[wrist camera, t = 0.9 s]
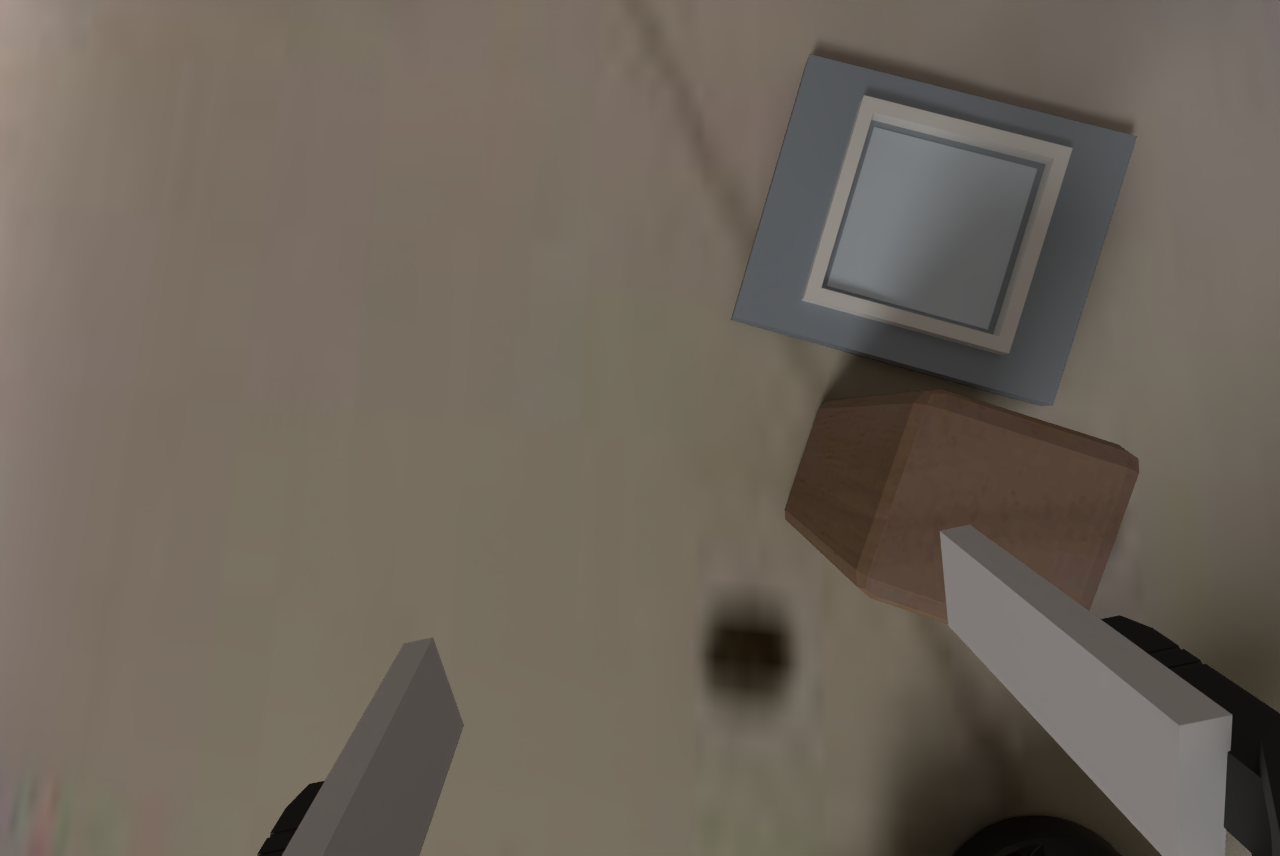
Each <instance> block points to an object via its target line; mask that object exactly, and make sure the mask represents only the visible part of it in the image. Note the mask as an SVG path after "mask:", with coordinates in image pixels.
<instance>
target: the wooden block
mask: <svg viewBox="0 0 1280 856" xmlns="http://www.w3.org/2000/svg"><path fill="white" fill-rule="evenodd" d="M1138 474H1139V462H1138V458H1136V457H1135V456H1134V455H1132V454H1131V453H1129V452H1128V451H1126V450H1125V449H1124V448H1122V447H1121V446H1120V445H1118V444H1115V443H1112V442H1108V441H1105V440H1102V439H1099V438H1096V437H1093V436H1089V435H1086V434H1083V433H1080V432H1077V431H1074V430H1071V429H1067V428H1064V427H1061V426H1058V425H1055V424H1052V423H1048V422H1045V421H1042V420H1039V419H1036V418H1033V417H1029V416H1026V415H1023V414H1020V413H1017V412H1014V411H1010V410H1007V409H1004V408H1001V407H998V406H995V405H992V404H988V403H985V402H982V401H979V400H976V399H973V398H969V397H966V396H963V395H960V394H957V393H954V392H950V391H947V390H944V389H935V390H923V391H914V392H904V393H895V394H886V395H877V396H867V397H858V398H849V399H840V400H830V401H825V402H824V403H823V405H822V406H821V407H820V408H819V410H818V413H817V416H816V418H815V421H814V424H813V427H812V430H811V433H810V436H809V439H808V442H807V445H806V448H805V451H804V454H803V457H802V460H801V463H800V466H799V469H798V472H797V475H796V478H795V481H794V484H793V487H792V489H791V492H790V495H789V498H788V501H787V504H786V507H785V519H786V520H787V521H788V522H789V523H790V524H791V525H792V526H793V527H794V528H795V529H796V530H797V531H799V532H800V533H801V534H802V535H803V536H804V537H805V538H806V539H807V540H808V541H809V542H810V543H811V544H812V545H813V546H814V547H816V548H817V549H818V550H819V551H820V552H821V553H822V554H823V555H824V556H825V557H826V558H827V559H828V560H829V561H830V562H832V563H833V564H834V565H835V566H836V567H837V568H838V569H839V570H840V571H841V572H842V573H843V574H844V575H845V576H846V577H847V578H849V579H850V580H851V581H852V582H853V583H854V584H855V585H856V586H857V587H858V588H859V589H861V590H862V591H863V592H864V593H865V594H866V595H868V596H869V597H870V598H872V599H875V600H878V601H881V602H884V603H887V604H890V605H893V606H896V607H899V608H902V609H905V610H908V611H911V612H914V613H917V614H920V615H923V616H926V617H929V618H932V619H934V620H937V621H940V622H943V623H946V624H948V617H947V606H946V595H945V584H944V573H943V562H942V551H941V540H940V531H942V530H947V529H951V528H956V527H961V526H966V525H971V526H972V527H974V528H975V529H977V530H978V531H979V532H981V533H982V534H984V535H985V536H986V537H988V538H989V539H990V540H992V541H993V542H995V543H996V544H997V545H999V546H1000V547H1001V548H1003V549H1004V550H1006V551H1007V552H1008V553H1010V554H1011V555H1012V556H1014V557H1015V558H1017V559H1018V560H1019V561H1021V562H1022V563H1024V564H1025V565H1026V566H1028V567H1029V568H1030V569H1032V570H1033V571H1035V572H1036V573H1037V574H1039V575H1040V576H1041V577H1043V578H1044V579H1046V580H1047V581H1048V582H1050V583H1051V584H1053V585H1054V586H1055V587H1057V588H1058V589H1059V590H1061V591H1062V592H1064V593H1065V594H1066V595H1068V596H1069V597H1070V598H1072V599H1073V600H1075V601H1076V602H1077V603H1079V604H1080V605H1081V606H1083V607H1084V608H1086V609H1087V610H1088V611H1089V610H1090V608H1091V605H1092V602H1093V599H1094V596H1095V594H1096V591H1097V588H1098V585H1099V583H1100V580H1101V577H1102V574H1103V571H1104V569H1105V566H1106V563H1107V560H1108V558H1109V555H1110V552H1111V549H1112V546H1113V544H1114V541H1115V538H1116V535H1117V533H1118V530H1119V527H1120V524H1121V521H1122V519H1123V516H1124V513H1125V510H1126V508H1127V505H1128V502H1129V499H1130V496H1131V494H1132V491H1133V488H1134V485H1135V483H1136V480H1137V477H1138Z"/></svg>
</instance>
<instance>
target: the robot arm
mask: <svg viewBox="0 0 1280 856" xmlns="http://www.w3.org/2000/svg"><path fill="white" fill-rule="evenodd" d="M940 540H941V551H942V562H943V573H944V584H945V595H946V606H947V617H948V626H949V627H950V628H951V629H952V630H953V631H954V632H955V633H956V634H957V635H958V636H959V637H960V638H961V640H962V641H963V642H964V643H965V644H966V645H967V646H968V647H969V648H970V649H971V650H972V651H973V652H974V654H975V655H976V656H977V657H978V658H979V659H980V660H981V661H982V662H983V663H984V664H985V665H986V666H987V668H988V669H989V670H990V671H991V672H992V673H993V674H994V675H995V676H996V677H997V678H998V679H999V681H1000V682H1001V683H1002V684H1003V685H1004V686H1005V687H1006V688H1007V689H1008V690H1009V691H1010V692H1011V693H1012V695H1013V696H1014V697H1015V698H1016V699H1017V700H1018V701H1019V702H1020V703H1021V704H1022V705H1023V706H1024V707H1025V709H1026V710H1027V711H1028V712H1029V713H1030V714H1031V715H1032V716H1033V717H1034V718H1035V719H1036V720H1037V721H1038V723H1039V724H1040V725H1041V726H1042V727H1043V728H1044V729H1045V730H1046V731H1047V732H1048V733H1049V734H1050V735H1051V737H1052V738H1053V739H1054V740H1055V741H1056V742H1057V743H1058V744H1059V745H1060V746H1061V747H1062V748H1063V750H1064V751H1065V752H1066V753H1067V754H1068V755H1069V756H1070V757H1071V758H1072V759H1073V760H1074V761H1075V762H1076V764H1077V765H1078V766H1079V767H1080V768H1081V769H1082V770H1083V771H1084V772H1085V773H1086V774H1087V775H1088V776H1089V778H1090V779H1091V780H1092V781H1093V782H1094V783H1095V784H1096V785H1097V786H1098V787H1099V788H1100V789H1101V790H1102V792H1103V793H1104V794H1105V795H1106V796H1107V797H1108V798H1109V799H1110V800H1111V801H1112V802H1113V803H1114V805H1115V806H1116V807H1117V808H1118V809H1119V810H1120V811H1121V812H1122V813H1123V814H1124V815H1125V816H1126V817H1127V819H1128V820H1129V821H1130V822H1131V823H1132V824H1133V825H1134V826H1135V827H1136V828H1137V829H1138V830H1139V831H1140V833H1141V834H1142V835H1143V836H1144V837H1145V838H1146V839H1147V840H1148V841H1149V842H1150V843H1151V844H1152V845H1153V847H1154V848H1155V849H1156V850H1157V851H1158V852H1159V853H1160V854H1161V855H1162V856H1225V845H1226V830H1227V831H1228V832H1229V833H1230V834H1232V835H1233V836H1234V837H1235V838H1236V839H1237V840H1238V841H1239V842H1240V843H1241V844H1242V845H1244V846H1245V847H1246V848H1247V849H1248V850H1249V851H1250V852H1251V853H1252V856H1280V713H1278V712H1277V711H1275V710H1274V709H1272V708H1271V707H1269V706H1268V705H1266V704H1265V703H1263V702H1262V701H1260V700H1259V699H1257V698H1256V697H1254V696H1253V695H1251V694H1250V693H1248V692H1247V691H1245V690H1244V689H1242V688H1241V687H1239V686H1238V685H1236V684H1235V683H1233V682H1232V681H1230V680H1229V679H1227V678H1226V677H1225V676H1223V675H1222V674H1220V673H1219V672H1217V671H1216V670H1214V669H1213V668H1211V667H1210V666H1208V665H1207V664H1204V665H1203V664H1202V663H1201V661H1200V660H1199V659H1198V658H1196V657H1195V656H1193V655H1192V654H1190V653H1189V652H1187V651H1186V650H1184V649H1183V650H1181V649H1180V648H1179V646H1178V645H1177V644H1175V643H1174V642H1172V641H1171V640H1169V639H1168V638H1166V637H1165V636H1163V635H1162V634H1160V633H1159V632H1157V631H1156V630H1154V629H1153V628H1151V627H1148V626H1146V625H1143V624H1140V623H1138V622H1135V621H1133V620H1130V619H1128V618H1125V617H1123V616H1115V617H1110V618H1105V619H1099V618H1098V617H1097V616H1095V615H1094V614H1093V613H1091V612H1090V611H1088V610H1087V609H1086V608H1084V607H1083V606H1081V605H1080V604H1079V603H1077V602H1076V601H1075V600H1073V599H1072V598H1070V597H1069V596H1068V595H1066V594H1065V593H1064V592H1062V591H1061V590H1059V589H1058V588H1057V587H1055V586H1054V585H1053V584H1051V583H1050V582H1048V581H1047V580H1046V579H1044V578H1043V577H1041V576H1040V575H1039V574H1037V573H1036V572H1035V571H1033V570H1032V569H1030V568H1029V567H1028V566H1026V565H1025V564H1024V563H1022V562H1021V561H1019V560H1018V559H1017V558H1015V557H1014V556H1012V555H1011V554H1010V553H1008V552H1007V551H1006V550H1004V549H1003V548H1001V547H1000V546H999V545H997V544H996V543H995V542H993V541H992V540H990V539H989V538H988V537H986V536H985V535H984V534H982V533H981V532H979V531H978V530H977V529H975V528H974V527H972V526H971V525H966V526H961V527H956V528H951V529H947V530H942V531H940ZM463 726H464V725H463V722H462V719H461V716H460V713H459V710H458V707H457V705H456V702H455V699H454V696H453V693H452V690H451V687H450V685H449V682H448V679H447V676H446V673H445V670H444V667H443V665H442V662H441V659H440V656H439V653H438V650H437V647H436V645H435V642H434V639H433V638H428V639H424V640H419V641H414V642H409V643H405V644H404V645H403V646H402V648H401V650H400V652H399V653H398V655H397V657H396V658H395V660H394V662H393V664H392V665H391V667H390V669H389V671H388V672H387V674H386V676H385V678H384V679H383V681H382V683H381V684H380V686H379V688H378V690H377V691H376V693H375V695H374V697H373V698H372V700H371V702H370V704H369V705H368V707H367V709H366V710H365V712H364V714H363V716H362V717H361V719H360V721H359V723H358V724H357V726H356V728H355V730H354V731H353V733H352V735H351V736H350V738H349V740H348V742H347V743H346V745H345V747H344V749H343V750H342V752H341V754H340V756H339V757H338V759H337V761H336V762H335V764H334V766H333V768H332V769H331V771H330V773H329V775H328V776H327V778H326V780H325V781H322V782H317V783H312V784H309V785H308V786H307V787H306V788H305V789H304V790H303V791H302V792H301V793H300V794H299V795H298V796H297V797H296V798H295V799H294V800H293V801H292V802H291V803H290V804H289V805H288V806H287V807H286V809H285V810H284V812H283V813H282V815H281V817H280V818H279V820H278V822H277V823H276V825H275V826H274V828H273V830H272V831H271V833H270V834H271V835H270V838H267V839H266V841H265V843H264V844H263V846H262V847H261V849H260V851H259V852H258V854H257V855H258V856H419V855H420V852H421V849H422V846H423V843H424V840H425V838H426V835H427V832H428V829H429V826H430V823H431V820H432V817H433V814H434V811H435V808H436V805H437V802H438V799H439V797H440V794H441V791H442V788H443V785H444V782H445V779H446V776H447V773H448V770H449V767H450V764H451V761H452V758H453V756H454V753H455V750H456V747H457V744H458V741H459V738H460V735H461V732H462V729H463ZM955 856H1121V855H1120V854H1119V853H1118V852H1117V851H1116V850H1115V849H1114V848H1113V847H1112V846H1111V845H1110V844H1109V843H1108V842H1107V841H1105V840H1104V839H1103V838H1102V837H1100V836H1099V835H1097V834H1096V833H1094V832H1092V831H1091V830H1089V829H1087V828H1085V827H1083V826H1081V825H1078V824H1076V823H1073V822H1070V821H1067V820H1063V819H1059V818H1054V817H1046V816H1027V817H1019V818H1014V819H1009V820H1006V821H1003V822H1000V823H997V824H995V825H992V826H990V827H988V828H986V829H985V830H983V831H981V832H980V833H978V834H977V835H975V836H974V837H973V838H972V839H970V840H969V841H968V842H967V843H966V844H965V845H964V846H963V847H962V848H961V849H960V850H959V851H958V852H957V854H956V855H955Z"/></svg>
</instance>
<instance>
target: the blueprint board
mask: <svg viewBox="0 0 1280 856" xmlns="http://www.w3.org/2000/svg"><path fill="white" fill-rule="evenodd" d="M1136 138H1137V136H1134V135H1130V134H1126V133H1122V132H1118V131H1114V130H1110V129H1106V128H1102V127H1098V126H1094V125H1090V124H1086V123H1082V122H1078V121H1074V120H1070V119H1066V118H1062V117H1058V116H1054V115H1050V114H1046V113H1042V112H1039V111H1035V110H1031V109H1027V108H1023V107H1019V106H1015V105H1011V104H1007V103H1003V102H999V101H995V100H991V99H987V98H983V97H979V96H975V95H971V94H967V93H963V92H959V91H955V90H951V89H947V88H943V87H939V86H935V85H931V84H927V83H923V82H919V81H915V80H911V79H907V78H903V77H899V76H895V75H891V74H887V73H883V72H879V71H875V70H871V69H867V68H863V67H859V66H855V65H852V64H848V63H844V62H840V61H836V60H832V59H828V58H824V57H820V56H816V55H812V54H810V55H809V57H808V60H807V63H806V66H805V69H804V72H803V76H802V79H801V83H800V86H799V89H798V93H797V96H796V100H795V103H794V106H793V110H792V113H791V117H790V120H789V124H788V127H787V130H786V134H785V137H784V141H783V144H782V147H781V151H780V154H779V158H778V161H777V165H776V168H775V171H774V175H773V178H772V182H771V185H770V188H769V192H768V195H767V199H766V202H765V206H764V209H763V212H762V216H761V219H760V223H759V226H758V229H757V233H756V236H755V240H754V243H753V247H752V250H751V253H750V257H749V260H748V264H747V267H746V270H745V274H744V277H743V281H742V284H741V288H740V291H739V294H738V298H737V301H736V305H735V308H734V311H733V315H732V318H731V320H734V321H738V322H741V323H745V324H748V325H752V326H756V327H759V328H763V329H766V330H770V331H774V332H777V333H781V334H784V335H788V336H791V337H795V338H799V339H802V340H806V341H809V342H813V343H817V344H820V345H824V346H827V347H831V348H835V349H838V350H842V351H845V352H849V353H853V354H856V355H860V356H863V357H867V358H870V359H874V360H878V361H881V362H885V363H888V364H892V365H896V366H899V367H903V368H906V369H910V370H914V371H917V372H921V373H924V374H928V375H932V376H935V377H939V378H942V379H946V380H950V381H953V382H957V383H960V384H964V385H967V386H971V387H975V388H978V389H982V390H985V391H989V392H993V393H996V394H1000V395H1003V396H1007V397H1011V398H1014V399H1018V400H1021V401H1025V402H1029V403H1032V404H1036V405H1039V406H1046V405H1053V402H1054V399H1055V396H1056V393H1057V390H1058V386H1059V383H1060V380H1061V377H1062V374H1063V371H1064V367H1065V364H1066V361H1067V358H1068V355H1069V351H1070V348H1071V345H1072V342H1073V339H1074V335H1075V332H1076V329H1077V326H1078V323H1079V319H1080V316H1081V313H1082V310H1083V307H1084V304H1085V300H1086V297H1087V294H1088V291H1089V288H1090V284H1091V281H1092V278H1093V275H1094V272H1095V268H1096V265H1097V262H1098V259H1099V256H1100V252H1101V249H1102V246H1103V243H1104V240H1105V237H1106V233H1107V230H1108V227H1109V224H1110V221H1111V217H1112V214H1113V211H1114V208H1115V205H1116V201H1117V198H1118V195H1119V192H1120V189H1121V185H1122V182H1123V179H1124V176H1125V173H1126V170H1127V166H1128V163H1129V160H1130V157H1131V154H1132V150H1133V147H1134V144H1135V141H1136Z"/></svg>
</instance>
